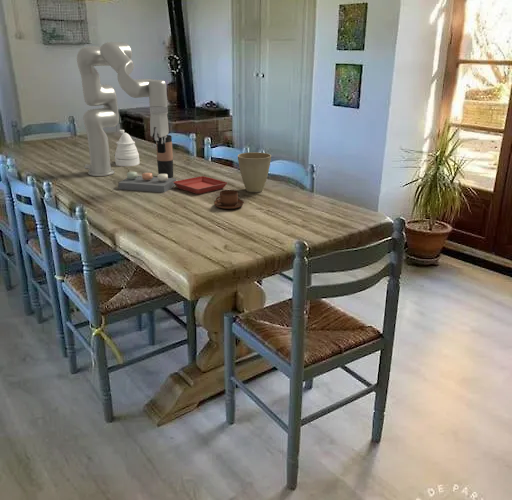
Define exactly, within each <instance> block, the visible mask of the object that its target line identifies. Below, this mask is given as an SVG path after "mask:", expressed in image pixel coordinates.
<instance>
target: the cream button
mask: <svg viewBox="0 0 512 500" xmlns="http://www.w3.org/2000/svg"><path fill="white" fill-rule="evenodd" d="M156 177H158V180H159V181H166V180H168V174H157V176H156Z"/></svg>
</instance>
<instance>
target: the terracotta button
mask: <svg viewBox="0 0 512 500" xmlns="http://www.w3.org/2000/svg"><path fill="white" fill-rule="evenodd" d="M141 176H142V179H144V180H150V179H153V177H154V176H153V173H152V172H143V173H141Z"/></svg>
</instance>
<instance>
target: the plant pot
mask: <svg viewBox="0 0 512 500" xmlns="http://www.w3.org/2000/svg"><path fill="white" fill-rule="evenodd" d="M237 161H238V167H239V172H240V175H241V176H240V177H241V179H242V182H243V185H244V188H245V190H246V192H248V193H260V192H263V190H264V188H265V185H266V182H267V179H268V176H269V172H270V166H271V161H272V154H270V153H268V152H257V151H256V152H254V151H253V152H252V151H251V152H242V153H239V154H237Z"/></svg>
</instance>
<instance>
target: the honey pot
mask: <svg viewBox="0 0 512 500" xmlns="http://www.w3.org/2000/svg"><path fill="white" fill-rule="evenodd" d="M119 133H120V134H121V135H120V138H119V139H118V141H116V142H115V144H116V145H117V146H116V148H115V149H116V150H115V153H114V159H115V160H114V161H115V162H114V163H115V165H116V166H119V167H133V166H138V165H140V163H141V162H140V154H139V152H138V148H137V145H136V142H135V140H133V139H132V136H131V135H130V134H129V133H127V132H125V129H119Z"/></svg>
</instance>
